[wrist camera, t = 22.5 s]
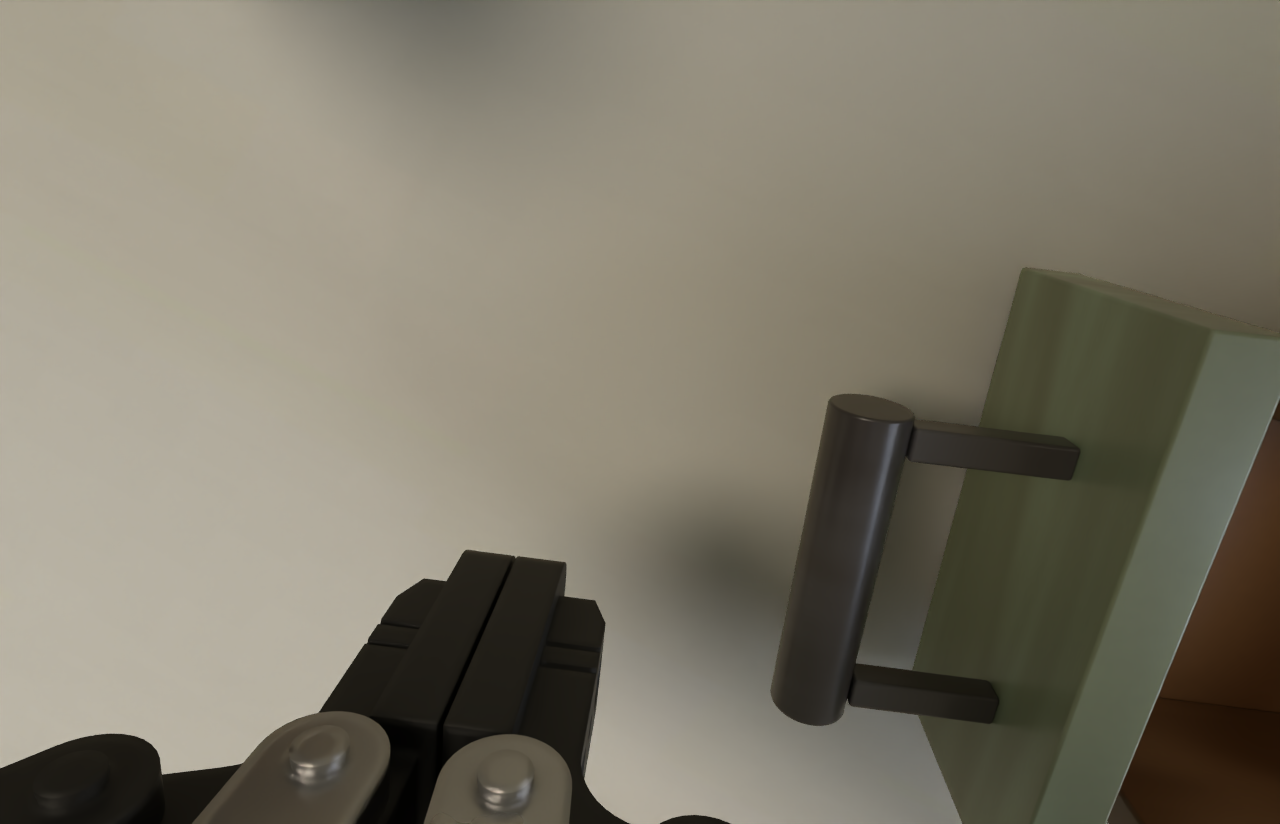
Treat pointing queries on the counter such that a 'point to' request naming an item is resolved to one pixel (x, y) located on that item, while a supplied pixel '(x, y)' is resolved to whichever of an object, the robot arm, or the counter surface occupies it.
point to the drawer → (1072, 568)
